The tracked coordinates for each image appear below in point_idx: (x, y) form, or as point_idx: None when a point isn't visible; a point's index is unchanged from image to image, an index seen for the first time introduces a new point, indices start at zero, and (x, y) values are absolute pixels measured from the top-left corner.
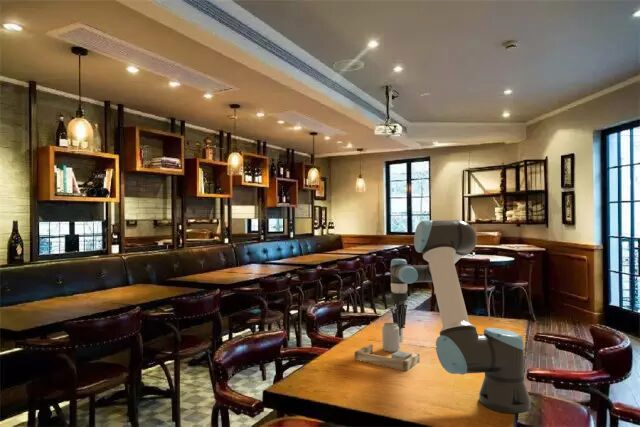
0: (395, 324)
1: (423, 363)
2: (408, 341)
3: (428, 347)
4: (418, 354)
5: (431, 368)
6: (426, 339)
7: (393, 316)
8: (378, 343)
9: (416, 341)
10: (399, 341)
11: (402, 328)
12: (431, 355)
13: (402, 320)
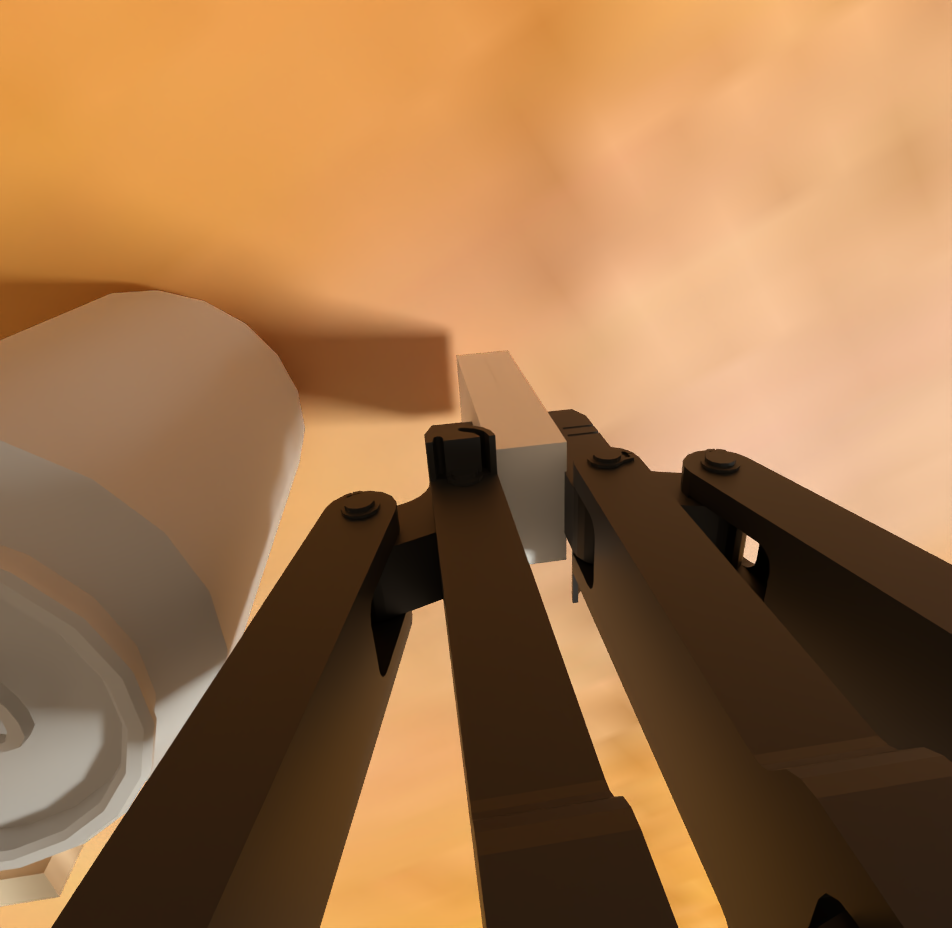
0: (128, 743)
1: (105, 835)
2: (725, 375)
3: (603, 652)
4: (34, 897)
5: (56, 913)
6: (907, 498)
7: (134, 862)
8: (338, 6)
9: (772, 453)
10: (462, 413)
11: (546, 561)
12: (372, 776)
13: (628, 688)
